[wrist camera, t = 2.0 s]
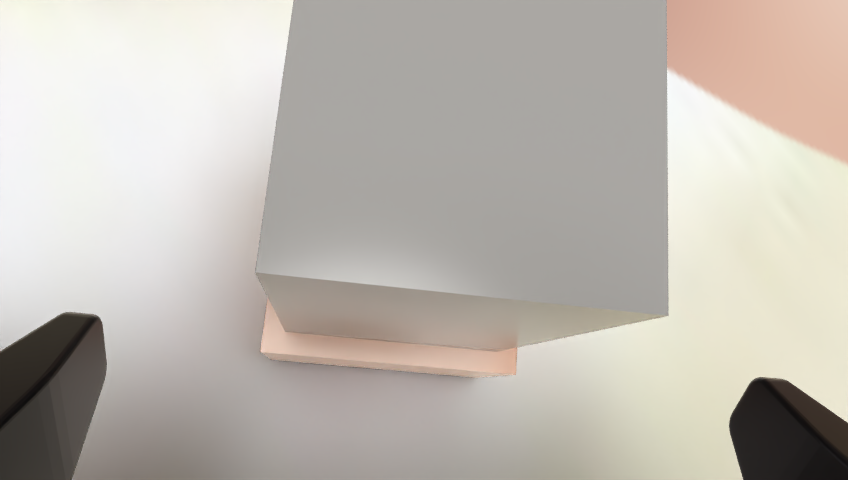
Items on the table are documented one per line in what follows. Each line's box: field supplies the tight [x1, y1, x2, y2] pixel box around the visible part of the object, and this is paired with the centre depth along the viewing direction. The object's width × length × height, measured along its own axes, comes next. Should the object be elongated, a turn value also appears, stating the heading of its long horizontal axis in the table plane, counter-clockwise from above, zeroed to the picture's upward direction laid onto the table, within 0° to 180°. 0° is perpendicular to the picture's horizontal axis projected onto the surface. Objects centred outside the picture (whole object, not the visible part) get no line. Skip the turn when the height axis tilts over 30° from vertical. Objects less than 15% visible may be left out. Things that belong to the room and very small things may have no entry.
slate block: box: [255, 0, 668, 352], centre depth 12 cm, size 5×5×8 cm
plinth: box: [260, 297, 517, 378], centre depth 18 cm, size 6×6×4 cm
